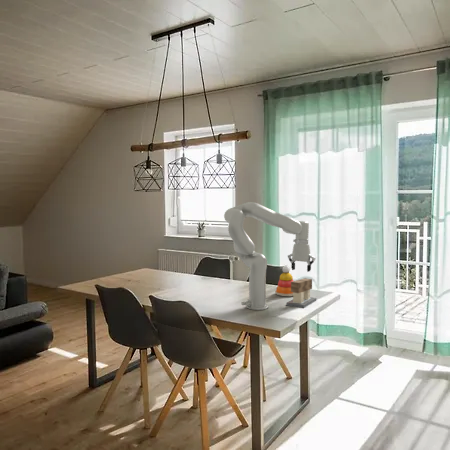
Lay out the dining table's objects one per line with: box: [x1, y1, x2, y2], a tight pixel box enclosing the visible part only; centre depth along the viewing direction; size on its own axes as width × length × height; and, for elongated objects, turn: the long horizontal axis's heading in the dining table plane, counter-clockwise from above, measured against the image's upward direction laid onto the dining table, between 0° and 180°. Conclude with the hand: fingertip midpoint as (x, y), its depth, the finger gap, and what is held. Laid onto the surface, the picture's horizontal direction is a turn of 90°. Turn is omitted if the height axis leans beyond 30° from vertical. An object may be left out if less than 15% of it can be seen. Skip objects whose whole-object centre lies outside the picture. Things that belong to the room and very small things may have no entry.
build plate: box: [286, 289, 317, 309], centre depth 259 cm, size 20×11×8 cm, turn 148°
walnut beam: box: [291, 277, 313, 293], centre depth 258 cm, size 15×5×6 cm, turn 137°
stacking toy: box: [274, 264, 294, 297], centre depth 279 cm, size 14×14×20 cm
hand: (300, 270), depth 257 cm, fingers open, 9 cm apart
